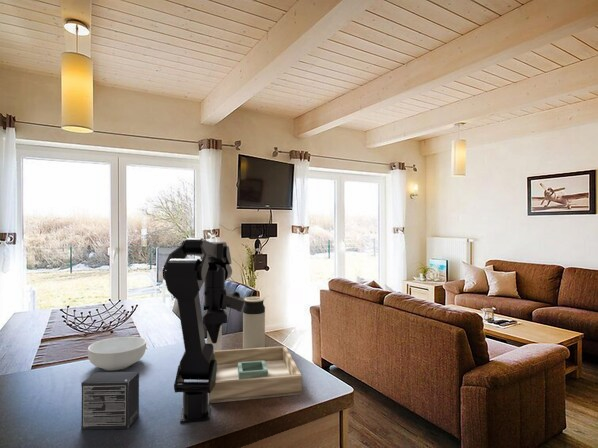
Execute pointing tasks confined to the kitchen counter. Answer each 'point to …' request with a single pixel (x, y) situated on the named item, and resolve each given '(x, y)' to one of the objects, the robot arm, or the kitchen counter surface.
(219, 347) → the grey plug
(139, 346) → the cereal bowl
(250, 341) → the travel mug
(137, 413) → the small box
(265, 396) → the walled box
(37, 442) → the kitchen counter surface
